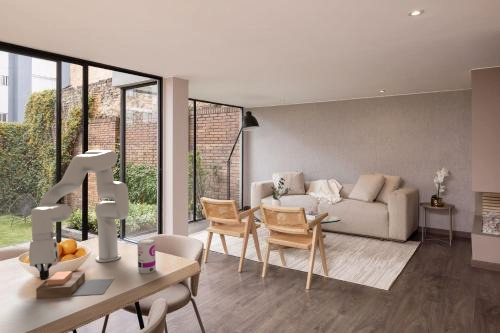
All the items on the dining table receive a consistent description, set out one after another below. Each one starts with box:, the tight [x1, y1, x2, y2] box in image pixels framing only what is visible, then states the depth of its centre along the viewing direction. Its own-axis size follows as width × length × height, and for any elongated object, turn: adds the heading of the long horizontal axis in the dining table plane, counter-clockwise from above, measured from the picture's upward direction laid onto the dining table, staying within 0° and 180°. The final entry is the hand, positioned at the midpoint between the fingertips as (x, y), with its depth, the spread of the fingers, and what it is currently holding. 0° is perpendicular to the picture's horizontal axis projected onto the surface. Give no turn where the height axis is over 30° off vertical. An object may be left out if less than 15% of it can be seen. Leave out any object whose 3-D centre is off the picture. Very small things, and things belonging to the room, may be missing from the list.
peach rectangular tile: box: [48, 270, 73, 285], centre depth 140 cm, size 9×6×2 cm, turn 8°
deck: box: [35, 271, 86, 299], centre depth 141 cm, size 16×13×4 cm
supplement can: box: [137, 238, 157, 275], centre depth 161 cm, size 8×8×15 cm
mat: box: [71, 278, 115, 297], centre depth 143 cm, size 16×12×1 cm
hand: (44, 278), depth 140 cm, fingers closed
